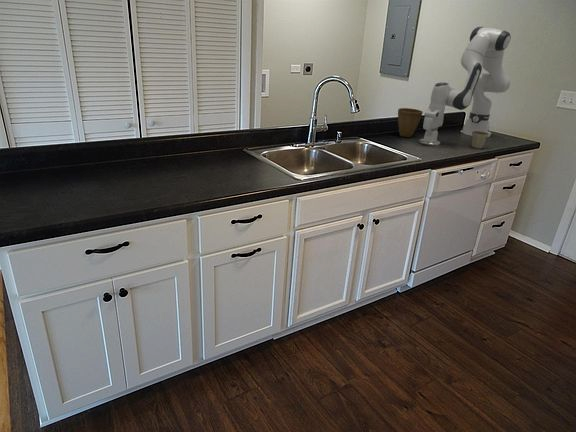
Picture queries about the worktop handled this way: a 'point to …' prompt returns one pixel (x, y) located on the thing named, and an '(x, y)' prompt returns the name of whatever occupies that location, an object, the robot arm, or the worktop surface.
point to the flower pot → (478, 139)
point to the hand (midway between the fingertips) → (431, 135)
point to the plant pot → (408, 121)
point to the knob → (433, 136)
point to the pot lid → (429, 142)
